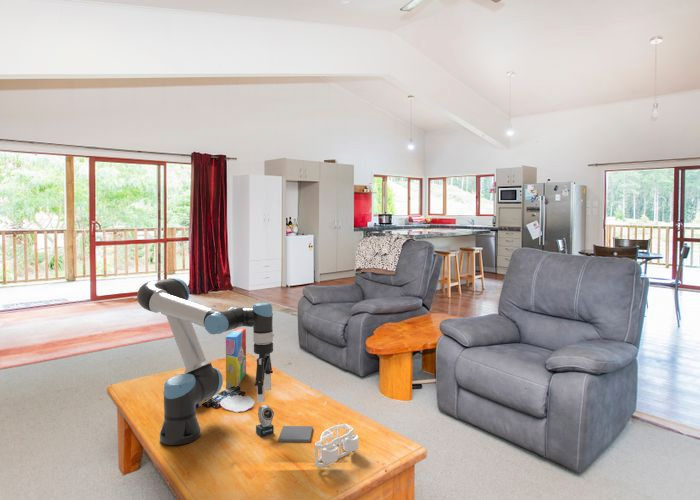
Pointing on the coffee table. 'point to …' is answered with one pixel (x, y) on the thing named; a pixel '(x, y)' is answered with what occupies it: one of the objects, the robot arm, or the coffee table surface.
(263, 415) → the watch
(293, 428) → the mat
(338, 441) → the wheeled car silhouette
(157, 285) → the robot arm
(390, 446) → the coffee table surface
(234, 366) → the game box
